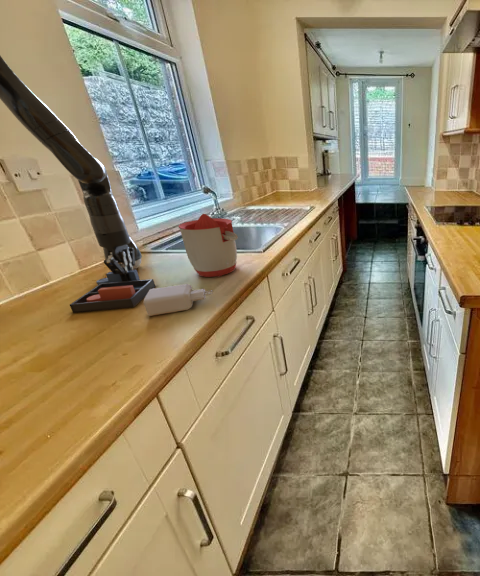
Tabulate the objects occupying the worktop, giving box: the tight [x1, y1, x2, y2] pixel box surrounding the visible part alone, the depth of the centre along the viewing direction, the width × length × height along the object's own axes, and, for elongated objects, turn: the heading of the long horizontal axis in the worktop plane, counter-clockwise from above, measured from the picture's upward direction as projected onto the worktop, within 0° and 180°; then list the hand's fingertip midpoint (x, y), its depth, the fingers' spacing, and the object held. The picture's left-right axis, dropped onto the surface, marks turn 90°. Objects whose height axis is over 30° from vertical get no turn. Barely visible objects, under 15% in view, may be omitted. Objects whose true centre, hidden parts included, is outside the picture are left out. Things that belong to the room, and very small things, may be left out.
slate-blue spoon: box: [95, 269, 141, 286], centre depth 100 cm, size 4×11×4 cm, turn 103°
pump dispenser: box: [102, 235, 143, 270], centre depth 110 cm, size 10×10×15 cm
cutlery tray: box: [69, 278, 156, 314], centre depth 90 cm, size 14×14×2 cm
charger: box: [143, 283, 214, 317], centre depth 86 cm, size 5×9×15 cm
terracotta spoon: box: [87, 285, 135, 302], centre depth 87 cm, size 4×11×4 cm, turn 104°
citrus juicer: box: [177, 213, 239, 278], centre depth 106 cm, size 16×17×20 cm
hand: (129, 282), depth 101 cm, fingers closed on slate-blue spoon, 2 cm apart
